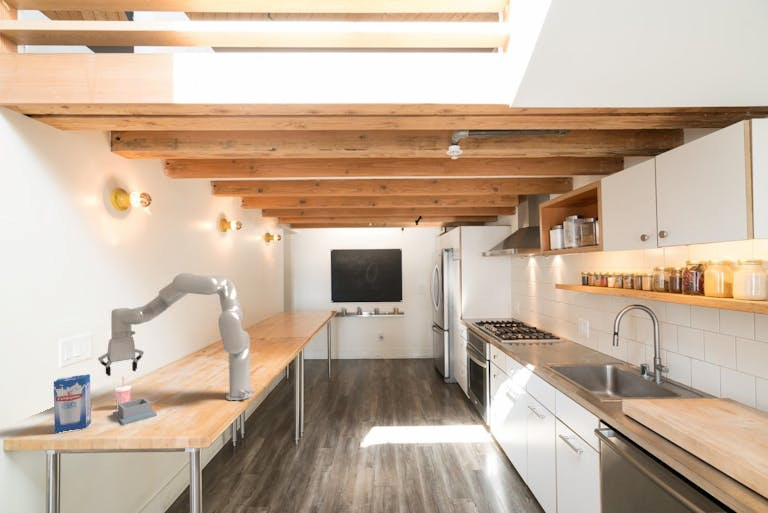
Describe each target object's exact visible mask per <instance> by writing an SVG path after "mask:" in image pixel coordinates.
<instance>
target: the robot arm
mask: <svg viewBox="0 0 768 513" xmlns="http://www.w3.org/2000/svg"><path fill="white" fill-rule="evenodd" d="M188 294H196V295H204V296H205V295H206V296H209V295H211V296H212V295H215V294H218V297H219V302H220V304H219V305H220V308H221V314H220V315H219V317H218V321H217V322H218V323H217V324H218V329H219V333H220V338H221V341H222V342H221V343H222V346H223V348H224V350H225V351H226V352H227V353H228V379H229V380H228V382H229V383H228V384H229V385H228V386H229V393H227V394H226V396H225V398H226V400H228V401H232V400H236V401H243V400H247V399H250V398H252V397H254V395H255V391H254V390H253V389H252V386H251V385H252V384H251V382H252V380H251V379H252V378H251V352H250V351H251V336H250V334H249V333H248V332H247V331H246V330H244V329H243V326H242V324H243V322H244V313H243V310H242V309H243V308H242V306H241V301H240V298H239V294H238V290H237V288H236V286H235V284H234V282H233V281H232V280H231V279H229V278H227V277H224V276H221V275H210V276H209V275H197V274H194V273H191V272H184V273H179V274H177V275H176V276H175V277H173V279H172V282H169V284H167V285H166V286H164V287H163V288H161V289H160V290H159V291H158V294H157V296H156V297H155V298H154V299H152V300H151V301H149V302H148V303H146V304H144V305H143V306H139V307H134V308H128V307H121V308H114V309H113V310H111V317H110V318H111V319H110V320H111V321H110V322H111V323H110V324H111V334H110V335H111V338H110V339H109V340H108V344H107V352H106V353H104V354H103V355H100V356H98V358H97V360H98V362H99V363H100V364H101V365H102V366H104V367H105V375H107V377H110V376H111V375H112V374H111V370H112V368H111V364H113V363H117V362H122V361H128V360H129V361H130V360H132V363H131V364H132V365H131V366H132V371H133V372H137V369H138V362H139V360H141V358H143V357H142V356H143V355H144V353H145V352H144V351H143V350H140V349H138V348H136V347H135V340H134V337H133V335H136V331H134V330H132V325H140V324H141V325H142V324H144V323H146V322H147V323H148V322H150V321H152V320H153V319H155V318H157V317H158V316H159V315H161V314H162V313H164V312H165V311H166V310H168V309H169V308H170V307H172V305H174V304H175V303H177V302H178V301H180V300H181V299H182V298H183V297H186V296H187V295H188ZM136 353H137V354H138V355H137V357H136ZM106 358H107V362H105V361H104V359H106Z"/></svg>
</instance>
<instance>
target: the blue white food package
mask: <svg viewBox="0 0 768 513" xmlns="http://www.w3.org/2000/svg"><path fill="white" fill-rule="evenodd" d="M91 404H92V403H91V374H82V375H74V376H72V375H71V376H66V377H59V378H58V379H56V380H54V381H53V405H54V406H53V410H54V413H53V414H54V416H53V417H54V418H53V419H54V434H55V433H58V434H60V433H59V432H63V431H69V430H75V429H81V430H83V429H82V428H86V427H87V426H88V425H89V424H90V425H91V423H92V415H91V414H92V413H91V412H92V411H91V408H92V407H91V406H92V405H91ZM90 425H89V426H90ZM89 426H88V427H89ZM88 427H87V428H88ZM87 428H86V429H87Z"/></svg>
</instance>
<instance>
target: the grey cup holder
mask: <svg viewBox="0 0 768 513" xmlns="http://www.w3.org/2000/svg"><path fill="white" fill-rule="evenodd" d="M112 414H113V416H115V418H116V420H118V421H119V423H121V425H123V426H125V425H128V424H132V423H136V422H139V421H142V420H146V419H149V418H153V417H157V412H156V411H155V410H153V409H152V406H151V401H149V400H148V399H147V398H145V397H141V398H137V399H133V400H130V401H128V402H124V403H120V404H118V408H117V410H115V411H113V412H112Z"/></svg>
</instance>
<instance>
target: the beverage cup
mask: <svg viewBox="0 0 768 513" xmlns="http://www.w3.org/2000/svg"><path fill="white" fill-rule="evenodd" d="M121 379H122V383H121V384H122V386H119V387H116V388H115V389H114V391H115V395H116V396H115V398H116V408H117V409H118V404H120V403H124V402H128V401H131V389H132V385H125V383H124V382H125V381H124V379H125V378H124V376H122V378H121Z"/></svg>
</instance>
